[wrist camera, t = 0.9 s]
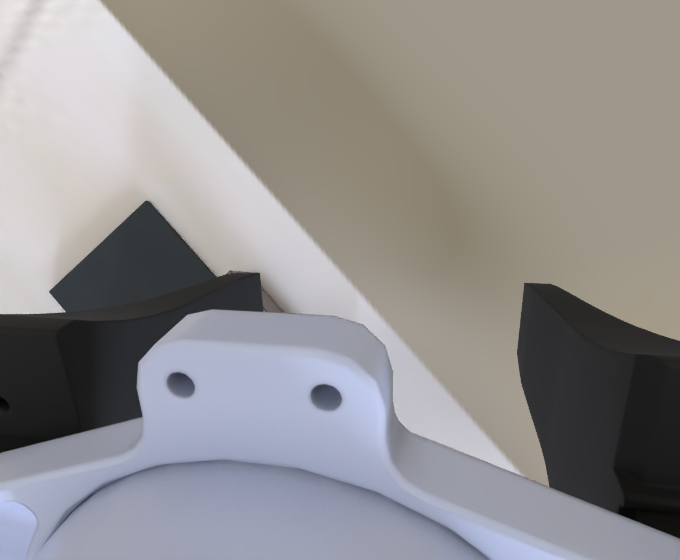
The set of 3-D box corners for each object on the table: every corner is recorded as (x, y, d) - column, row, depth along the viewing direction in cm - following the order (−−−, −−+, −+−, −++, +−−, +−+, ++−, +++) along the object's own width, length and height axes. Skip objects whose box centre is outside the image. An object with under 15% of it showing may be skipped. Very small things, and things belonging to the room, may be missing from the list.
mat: (119, 369, 33) (116, 370, 33) (52, 291, 34) (48, 291, 33) (217, 278, 33) (215, 278, 33) (148, 201, 33) (146, 200, 33)
